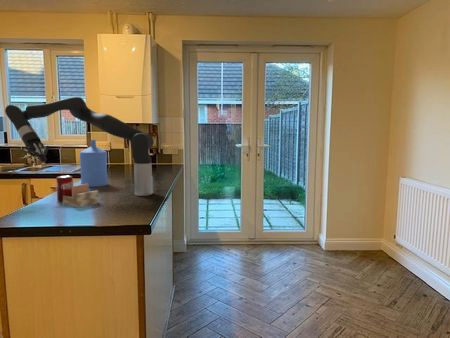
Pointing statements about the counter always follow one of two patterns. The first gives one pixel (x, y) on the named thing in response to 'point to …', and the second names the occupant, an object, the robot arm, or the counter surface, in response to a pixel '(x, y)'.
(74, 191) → the catch plate
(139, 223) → the counter surface
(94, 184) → the water jug
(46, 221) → the counter surface
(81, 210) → the counter surface
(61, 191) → the soda can
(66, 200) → the birch dock
